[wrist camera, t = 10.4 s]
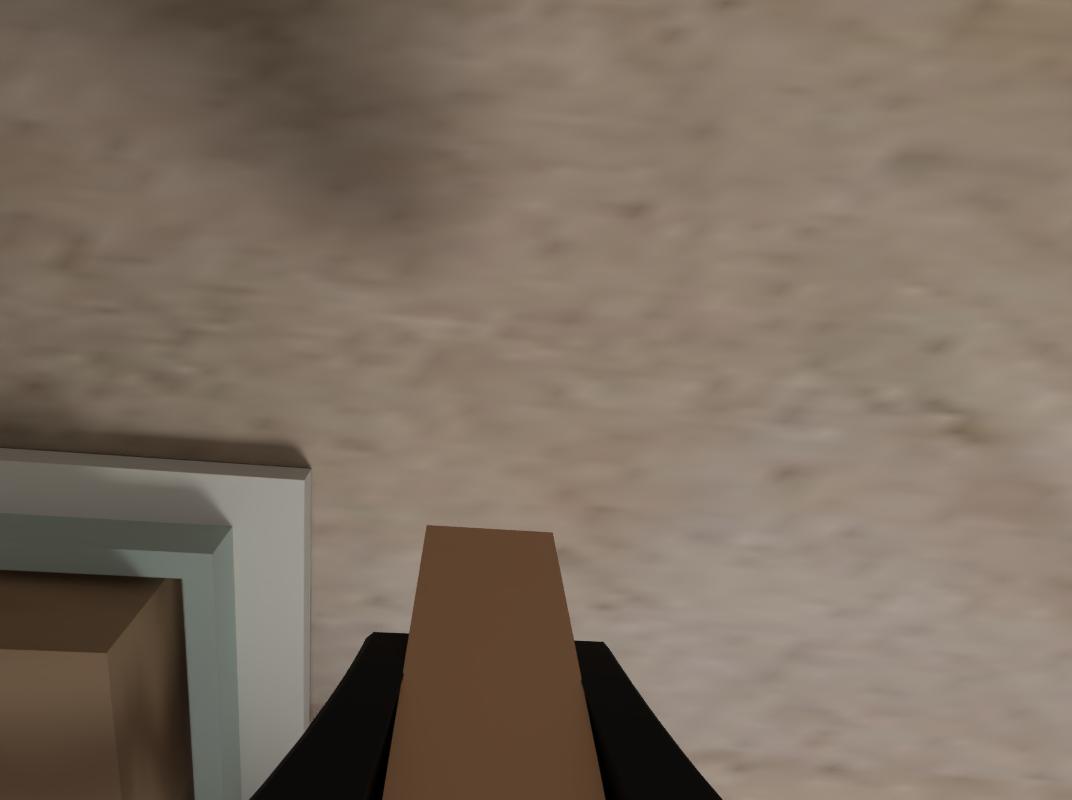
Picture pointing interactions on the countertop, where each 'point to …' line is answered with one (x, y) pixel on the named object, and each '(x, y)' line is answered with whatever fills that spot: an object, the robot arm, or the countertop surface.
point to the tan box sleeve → (93, 688)
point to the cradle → (190, 582)
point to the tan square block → (491, 677)
